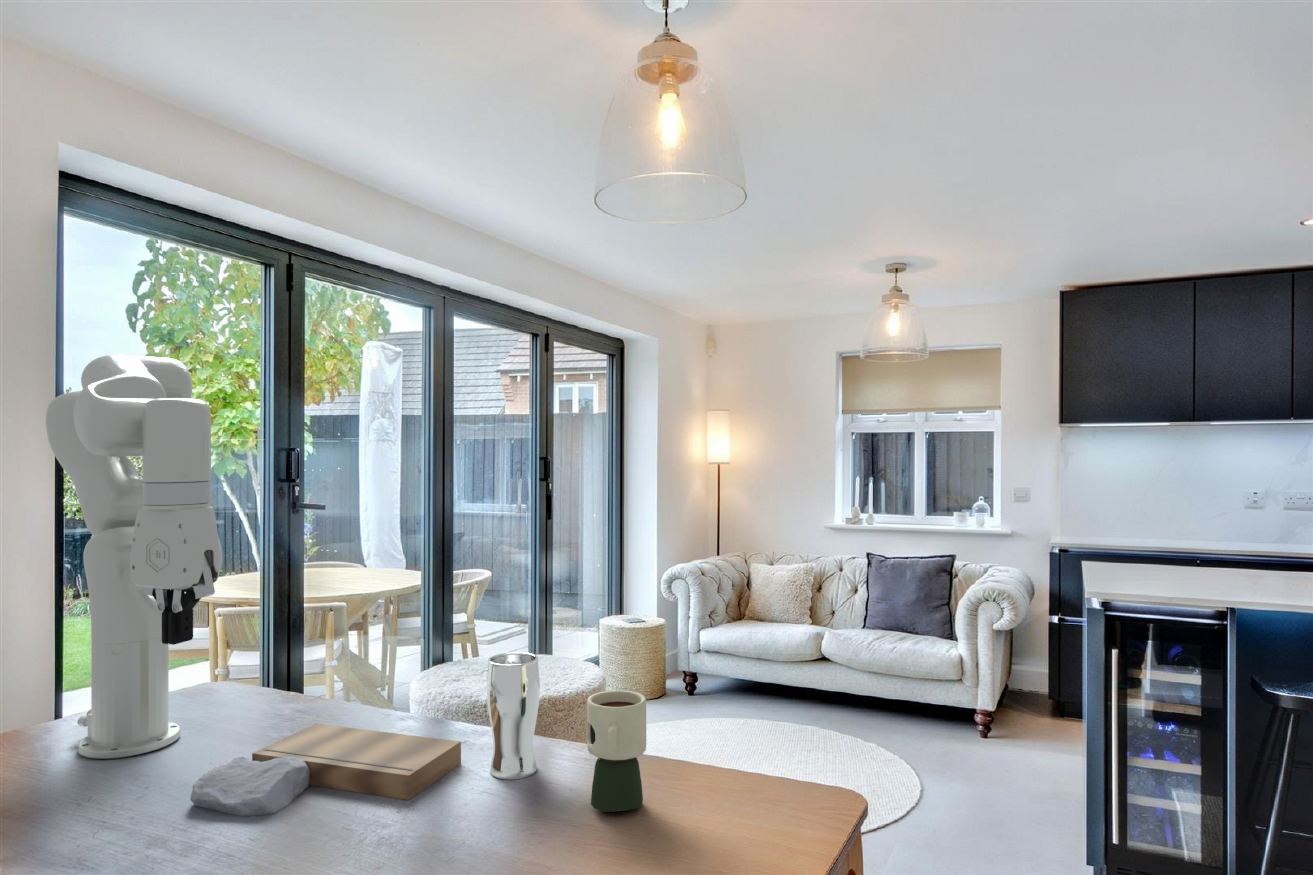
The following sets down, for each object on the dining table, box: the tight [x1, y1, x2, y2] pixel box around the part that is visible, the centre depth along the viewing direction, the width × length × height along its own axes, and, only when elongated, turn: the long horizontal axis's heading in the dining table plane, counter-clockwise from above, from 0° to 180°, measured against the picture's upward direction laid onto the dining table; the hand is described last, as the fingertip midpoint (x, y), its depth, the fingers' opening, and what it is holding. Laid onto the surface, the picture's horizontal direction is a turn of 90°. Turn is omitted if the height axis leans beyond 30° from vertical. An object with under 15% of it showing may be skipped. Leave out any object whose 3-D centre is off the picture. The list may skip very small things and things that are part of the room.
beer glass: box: [486, 651, 541, 781], centre depth 110 cm, size 7×7×15 cm
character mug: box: [586, 689, 647, 813], centre depth 99 cm, size 11×7×13 cm, turn 177°
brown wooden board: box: [251, 723, 462, 801], centre depth 111 cm, size 24×12×3 cm, turn 72°
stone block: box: [190, 756, 310, 817], centre depth 102 cm, size 12×5×10 cm
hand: (177, 641), depth 104 cm, fingers closed
